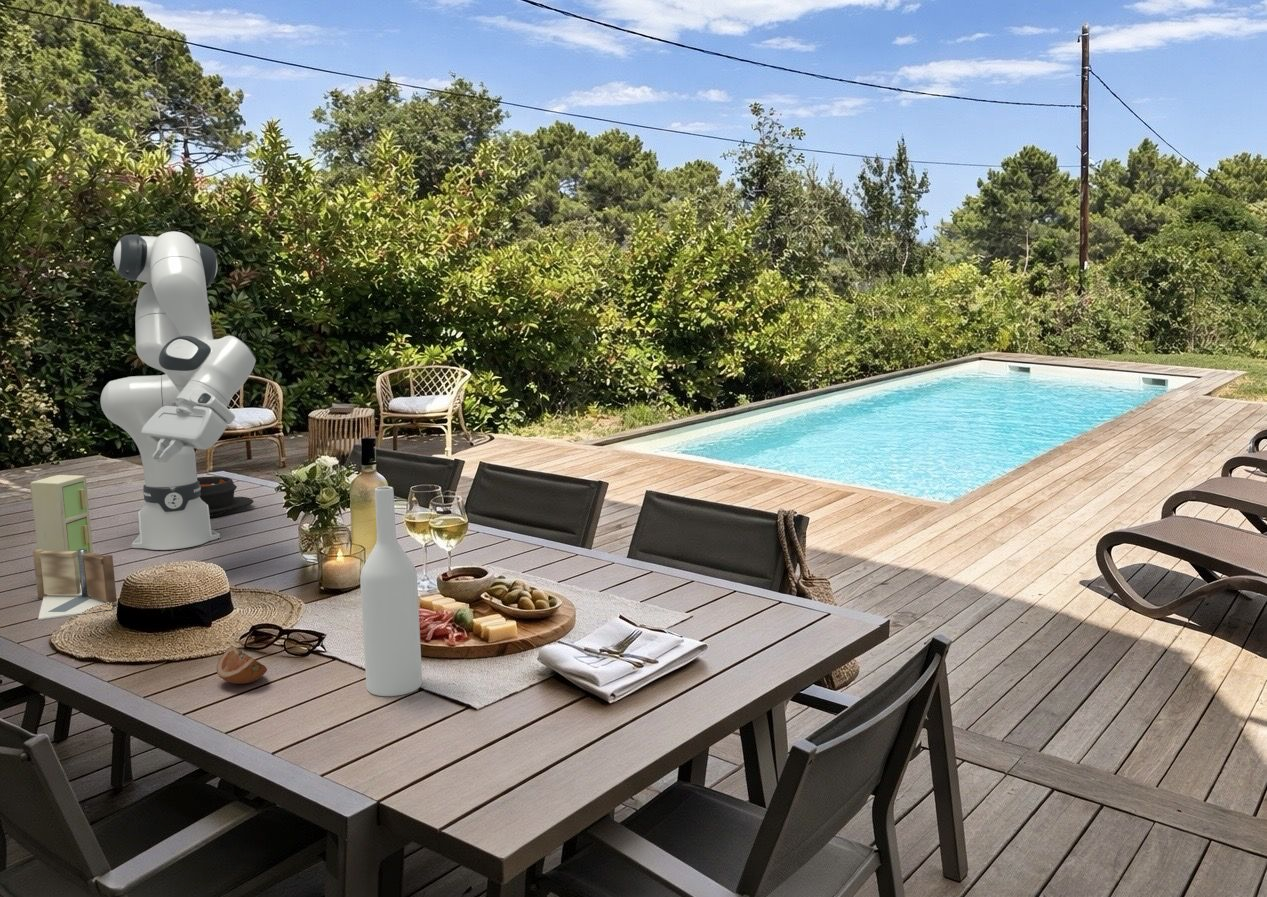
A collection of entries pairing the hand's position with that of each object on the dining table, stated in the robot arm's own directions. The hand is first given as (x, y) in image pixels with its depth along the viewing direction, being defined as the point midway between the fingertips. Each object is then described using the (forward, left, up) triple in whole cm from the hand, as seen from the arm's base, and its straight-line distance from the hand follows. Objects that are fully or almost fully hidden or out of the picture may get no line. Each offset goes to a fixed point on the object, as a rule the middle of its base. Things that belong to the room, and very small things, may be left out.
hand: (158, 460), depth 204 cm
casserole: (-69, +11, -26) cm, 74 cm away
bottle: (+73, +28, -25) cm, 83 cm away
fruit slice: (+61, +8, -26) cm, 67 cm away
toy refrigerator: (-15, -18, -25) cm, 35 cm away
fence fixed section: (-1, -19, -25) cm, 31 cm away
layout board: (+2, -16, -25) cm, 30 cm away
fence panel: (+6, -12, -24) cm, 28 cm away
